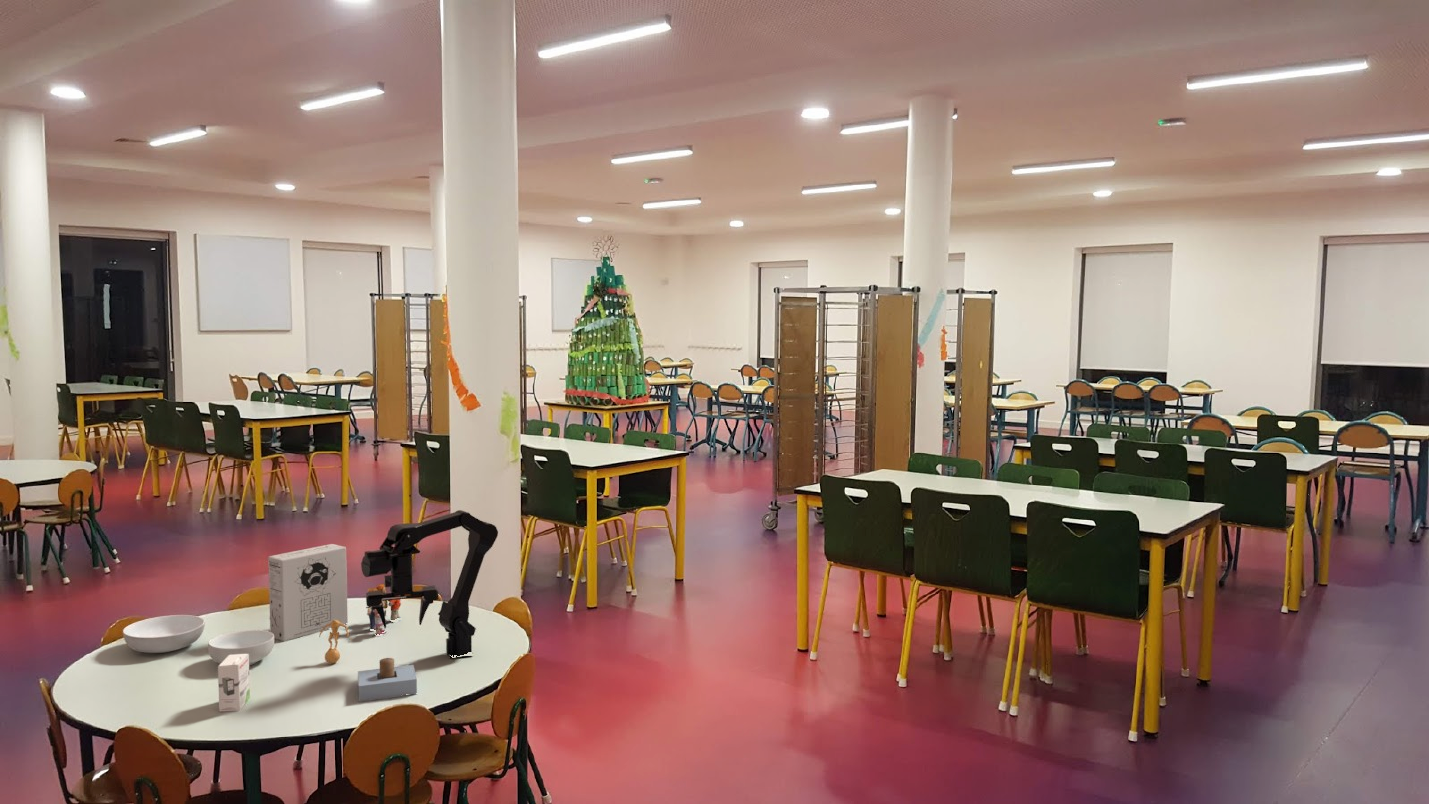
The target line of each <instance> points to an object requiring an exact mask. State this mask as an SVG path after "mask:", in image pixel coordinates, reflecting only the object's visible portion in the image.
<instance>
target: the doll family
mask: <svg viewBox="0 0 1429 804" xmlns="http://www.w3.org/2000/svg"><path fill="white" fill-rule="evenodd" d="M379 590H381V593H382V594H386V593H387V590H386V587H385V583H383V584H382V583H381V584H378V585H377V586H376V588H373V587H371V588H370V587H369V588H368V589H367V590H366V591H367V592H368V591H379ZM367 592H366V593H367ZM394 597H395V596H394ZM401 600H402V599H397V600H387V601H382V602H383V608H384V614H385V617H386V616H387V608H389V607H390V620H395V619H397V618H401V616H400V613H399V609H400V607H401V605H402V602H401ZM365 608H366V609H367V613H366V616H368V618H369V630H370V629H374V630H376V632H375V633H374V635H375V634H376V635H377V634H379V635H380V634H384V633H382V632H384V631H385V630H386V629H383V628H382V627H384V625H383V623H382V620H381V617H380V615H379V614H378V612H377V610H376V609H372V606H366V607H365Z"/></svg>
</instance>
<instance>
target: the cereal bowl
mask: <svg viewBox="0 0 1429 804" xmlns="http://www.w3.org/2000/svg"><path fill="white" fill-rule="evenodd" d="M274 644H275V638H274V634H273V633H271V632H270V631H267V630H263V629H262V630H260V629H249V630H248V629H247V630H237V631H233V632H232V631H231V632H228V633H227V632H226V633H222V634H220V635H217V636H214V637H212V638H211V639H210V640H209V641H208V642H207V650H208V655H209V657H210V658H211V659H212V660H213V661H214V662H216V663H218V664H219V665H220V664H221V663H222V662H223V661H224V660H225V659H226V658H227V657H228V656H229V655H235V654H249V667H250V666H253V665H254V664H255V665H256V663H257V662H258V661H261V660H263V659H264V658H266V657H268V656H269V655H270V654H271V652H272V650H273V649H274V646H275V645H274Z"/></svg>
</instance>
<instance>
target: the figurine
mask: <svg viewBox="0 0 1429 804" xmlns="http://www.w3.org/2000/svg"><path fill="white" fill-rule="evenodd" d="M328 626H331V630H332V631H330V632H329V636H328V643H329V644H330V646H329V648H328V650H327V651H326V652H325V653H324V660H325V662H326V663H328V664H335V663H337V662H338V661H339V660H340V657H341V653H340V651H339V650H337V647H338V643H339V642H338V640H339V638H340V637H339V636H340V632H339V627H343V628H344V629H345V633H346V637H347V638H349V637H350V636H349V635H350V634H349V631H348V626H347V624H346V625H344V624H342V623H340V622H339V621H338V620H335V619H334V620H333V621H332V622H331V623H329V624H327V625H325V626H324V628H323V629H322V631H320V632H319V634H318V635H319V638H320V637H321V635H322V633H324V631H325V630H324V629H325V627H328ZM333 638H334V643H335V646H334V648H332V647H333V641H332V640H333Z"/></svg>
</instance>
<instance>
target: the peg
mask: <svg viewBox="0 0 1429 804" xmlns="http://www.w3.org/2000/svg"><path fill="white" fill-rule="evenodd" d="M394 667H395V659H394V658H393V657H385V658H382V659H379V669H380V679H386V678H394Z"/></svg>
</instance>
